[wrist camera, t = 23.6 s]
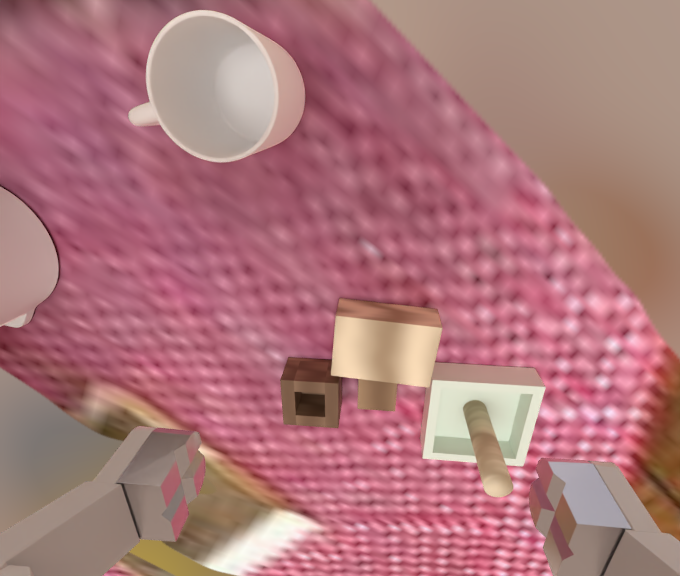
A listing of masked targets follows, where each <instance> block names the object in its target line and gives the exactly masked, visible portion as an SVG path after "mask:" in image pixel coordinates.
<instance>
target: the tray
mask: <svg viewBox="0 0 680 576" xmlns="http://www.w3.org/2000/svg"><path fill="white" fill-rule="evenodd" d="M544 391H545V385H544V383H543V382H542V380H541V378H540V376H539V375H538V373H537V371H536V370H535V368H525V367H508V366H491V365H474V364H457V363H440V362H435V364H434V368H433V373H432V377H431V382H430V386H429V387H426V393H425V401H424V410H423V418H422V426H421V434H420V441H421V449H422V458H424V459H436V460H449V461H462V462H474V463H477V461H476V457H475V453H474V450H473V446H472V442H471V438H470V435H469V431H468V427H467V423H466V420H465V416H464V412H463V407H464V405H465V404H466V403H467V402H469V401H472V400H479V401H481V402H483V403H484V404H485V406H486V408H487V411H488V414H489V417H490V420H491V423H492V426H493V429H494V432H495V434H496V437H497V440H498V443H499V446H500V449H501V452H502V455H503V458H504V461H505V463H506V465H513V466H523V465H524V462H525V458H526V455H527V451H528V448H529V444H530V440H531V437H532V433H533V430H534V426H535V423H536V419H537V416H538V412H539V409H540V405H541V402H542V398H543V394H544Z"/></svg>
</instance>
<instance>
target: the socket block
mask: <svg viewBox="0 0 680 576" xmlns="http://www.w3.org/2000/svg"><path fill="white" fill-rule="evenodd" d="M331 367H332V360H325V359H308V358H291V357H289V358H288V360H287V363H286V366H285V369H284V371H283V374H282V377H281V380H280V381H281V395H282V408H283V421H284V424H289V425H302V426H316V427H330V428H338V426H339V419H340V411H341V404H342V377H340V376H331Z"/></svg>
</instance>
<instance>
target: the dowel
mask: <svg viewBox="0 0 680 576" xmlns="http://www.w3.org/2000/svg"><path fill="white" fill-rule="evenodd" d="M463 412H464V416H465V420H466V423H467V427H468V431H469V435H470V438H471V442H472V446H473V450H474V453H475V457H476V461H477V465H478V468H479V472H480V476H481V480H482V483H483V487H484V491H485V492H486V493H487V494H488V495H490V496H493V497H503V496H506V495H508V494H510V493H511V492H512V490H513V484H512V481H511V478H510V475H509V472H508V469H507V466H506V463H505V461H504V458H503V455H502V452H501V449H500V446H499V443H498V440H497V437H496V434H495V432H494V429H493V426H492V423H491V420H490V417H489V414H488V411H487V408H486V406H485V404H484V403H483V402H481V401H479V400H472V401H469V402H467V403H466V404H465V405H464V407H463Z"/></svg>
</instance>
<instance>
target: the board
mask: <svg viewBox="0 0 680 576" xmlns="http://www.w3.org/2000/svg"><path fill="white" fill-rule="evenodd" d="M441 333H442V324H441V321H440V317H439V313H438V310H437V309H431V308H422V307H413V306H404V305H396V304H387V303H378V302H369V301H360V300H351V299H343V298H339V303H338V308H337V312H336V319H335V331H334V343H333V355H332V367H331V376H340V377H348V378H356V379H364V380H372V381H380V382H388V383H397V384H405V385H413V386H421V387H429V386H430V382H431V377H432V373H433V368H434V364H435V359H436V355H437V350H438V346H439V342H440V337H441Z"/></svg>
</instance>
